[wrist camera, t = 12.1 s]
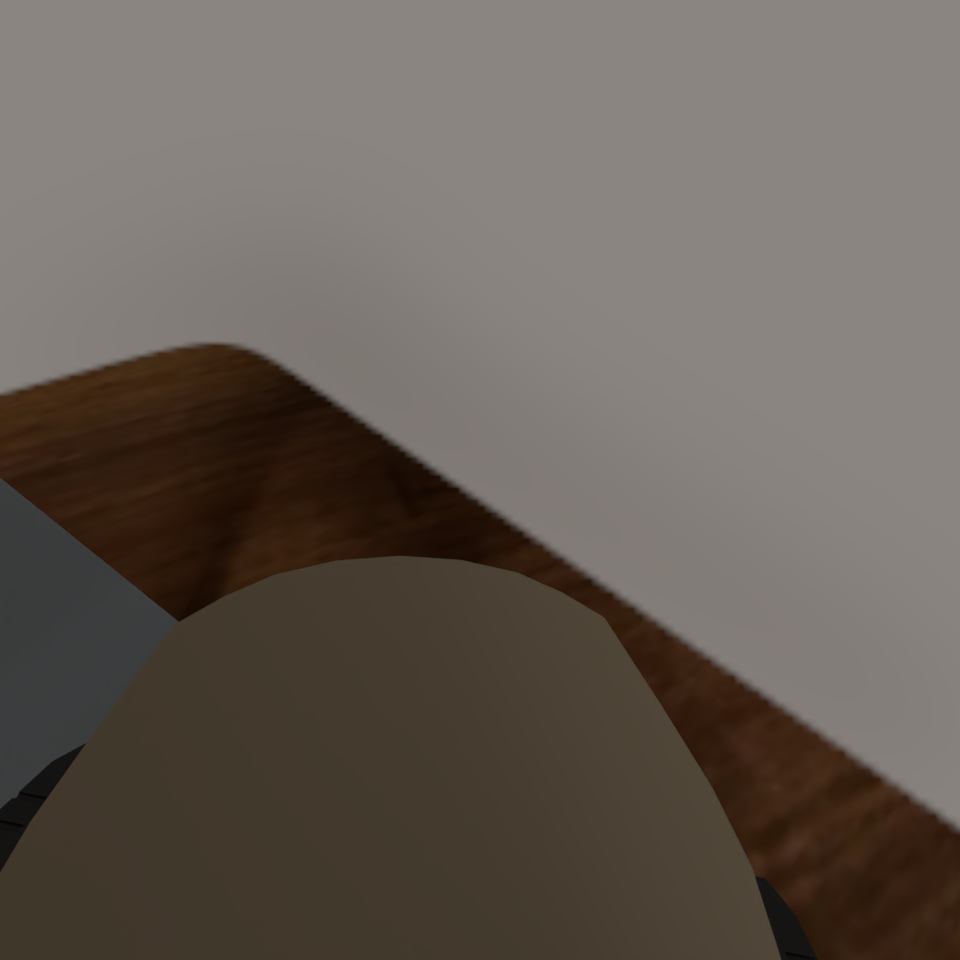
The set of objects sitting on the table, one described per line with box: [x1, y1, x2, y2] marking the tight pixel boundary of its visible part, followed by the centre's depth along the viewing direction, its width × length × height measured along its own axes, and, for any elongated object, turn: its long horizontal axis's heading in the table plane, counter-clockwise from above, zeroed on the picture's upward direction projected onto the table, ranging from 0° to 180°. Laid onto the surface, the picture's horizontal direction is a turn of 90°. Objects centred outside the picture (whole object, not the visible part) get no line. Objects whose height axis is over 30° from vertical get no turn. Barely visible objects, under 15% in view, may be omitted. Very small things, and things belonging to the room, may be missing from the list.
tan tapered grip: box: [0, 556, 781, 960], centre depth 9 cm, size 5×6×15 cm
